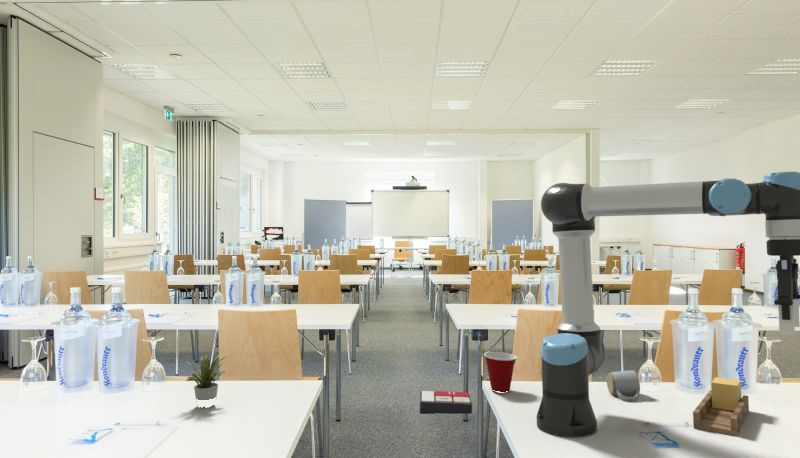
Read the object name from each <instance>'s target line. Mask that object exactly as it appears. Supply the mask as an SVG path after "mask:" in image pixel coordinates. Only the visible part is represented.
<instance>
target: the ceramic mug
mask: <svg viewBox="0 0 800 458" xmlns="http://www.w3.org/2000/svg"><path fill="white" fill-rule="evenodd" d="M606 385H607V389H608V392H609V393H610V395H612V396H614V397H615V396H616V397H619V399H621V400H623V401H625V402H634V401H637V400H638V397H639V395H640V393H641V392H640V391H641V385H640V379H639V377H638V375H637V373H636V371H635V370H622V371H612V372H608V373H607V376H606Z"/></svg>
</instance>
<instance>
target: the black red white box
mask: <svg viewBox="0 0 800 458" xmlns="http://www.w3.org/2000/svg"><path fill="white" fill-rule="evenodd" d="M419 414H421V415H429V414H430V415H435V414H448V415H450V414H453V415H460V414H462V415H463V414H465V415H466V414H473V401H472V399H471V395H470V394H469V392H465V391H447V390H446V391H445V390H444V391H443V390H435V391H432V390H431V391H429V390H422V391H420V393H419Z"/></svg>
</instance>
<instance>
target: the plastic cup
mask: <svg viewBox="0 0 800 458" xmlns="http://www.w3.org/2000/svg"><path fill="white" fill-rule="evenodd" d="M483 356H484V359H485V364H486V367H487V374H488V379H489V382H490V383H489V384H490V388H492V389H491V391H492V390H495V391H500V392H506V391H509V390H510V391H511V385H512V381H513V380H512V379H513V373H514V367H515V363H516V361H517V359H518V356H516V355H514V354H512V353H508V352H499V351H487V352H485V353H484V354H483ZM510 391H509V392H510Z"/></svg>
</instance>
